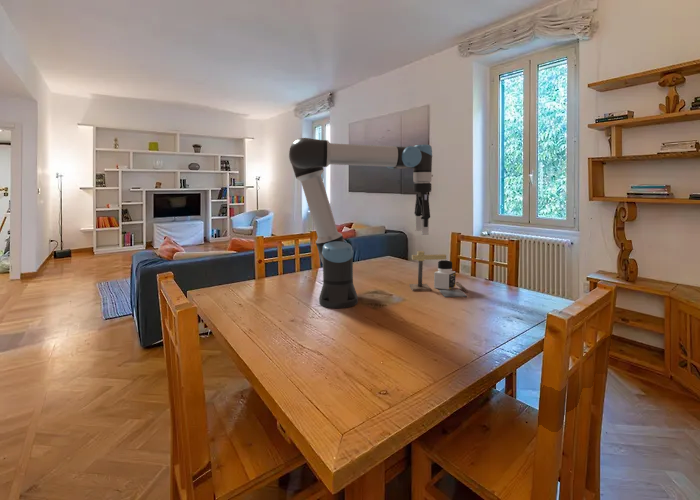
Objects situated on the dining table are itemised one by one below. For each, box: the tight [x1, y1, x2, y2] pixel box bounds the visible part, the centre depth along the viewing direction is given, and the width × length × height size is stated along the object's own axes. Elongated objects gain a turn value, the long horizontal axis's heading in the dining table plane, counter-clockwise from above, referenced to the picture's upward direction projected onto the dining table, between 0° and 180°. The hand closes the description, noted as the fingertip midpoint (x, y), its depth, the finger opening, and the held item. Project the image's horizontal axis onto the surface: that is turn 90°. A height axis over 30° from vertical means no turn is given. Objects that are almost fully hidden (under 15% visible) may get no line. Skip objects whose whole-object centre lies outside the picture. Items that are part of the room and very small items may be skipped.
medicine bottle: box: [433, 259, 457, 290], centre depth 168 cm, size 7×7×12 cm
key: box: [411, 250, 447, 262], centre depth 166 cm, size 15×3×4 cm, turn 91°
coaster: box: [439, 289, 468, 298], centre depth 160 cm, size 9×9×1 cm
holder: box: [409, 260, 469, 293], centre depth 168 cm, size 23×14×12 cm, turn 91°
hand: (421, 232), depth 164 cm, fingers open, 13 cm apart
